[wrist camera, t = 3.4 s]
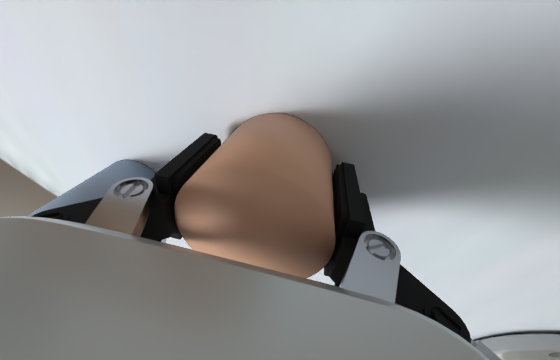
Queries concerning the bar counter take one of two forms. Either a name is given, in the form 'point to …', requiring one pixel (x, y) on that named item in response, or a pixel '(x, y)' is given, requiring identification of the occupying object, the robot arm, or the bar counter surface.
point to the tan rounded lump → (263, 198)
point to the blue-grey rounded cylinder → (100, 184)
